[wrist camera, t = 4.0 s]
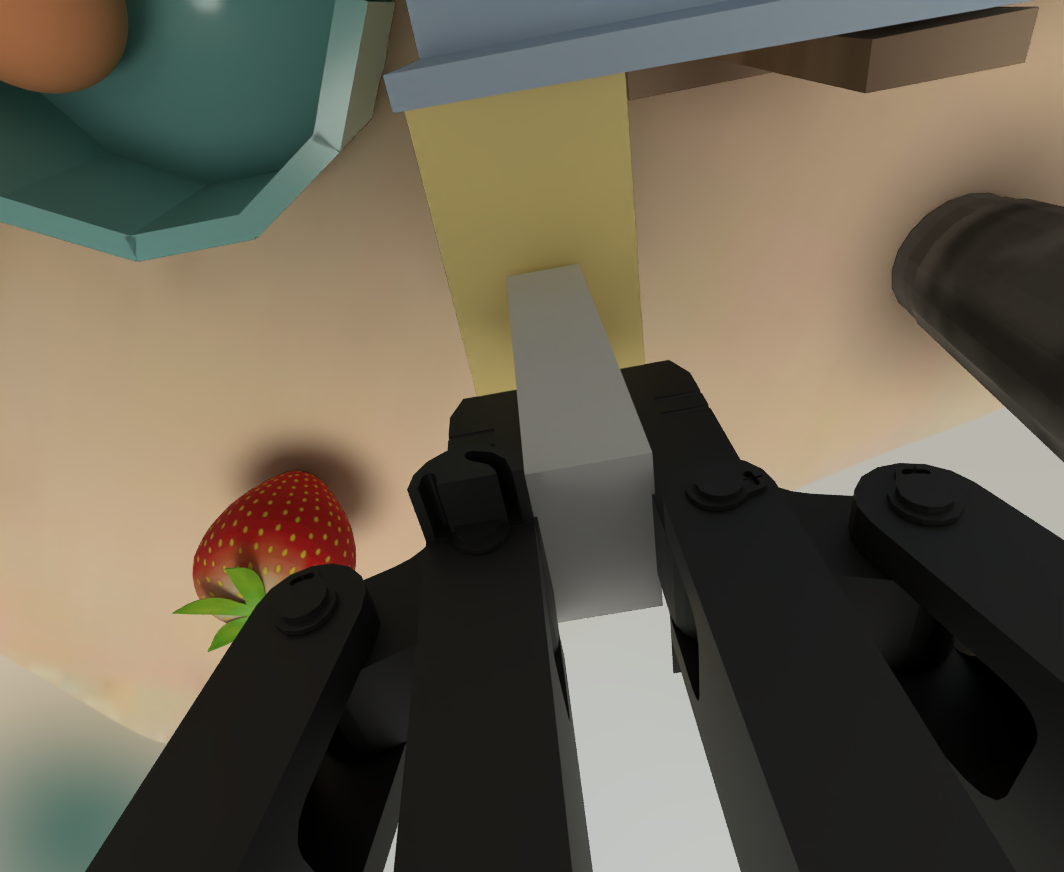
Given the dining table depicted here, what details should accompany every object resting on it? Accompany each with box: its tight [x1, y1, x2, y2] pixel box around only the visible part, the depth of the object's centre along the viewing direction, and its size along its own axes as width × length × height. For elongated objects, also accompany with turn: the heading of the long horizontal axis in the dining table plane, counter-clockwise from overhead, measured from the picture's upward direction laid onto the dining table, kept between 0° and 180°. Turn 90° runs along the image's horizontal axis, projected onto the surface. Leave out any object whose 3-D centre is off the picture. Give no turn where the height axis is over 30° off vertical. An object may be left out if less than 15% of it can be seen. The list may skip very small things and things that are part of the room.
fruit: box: [172, 471, 356, 652], centre depth 23 cm, size 5×5×8 cm
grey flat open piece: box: [383, 0, 1032, 397], centre depth 9 cm, size 18×13×3 cm
